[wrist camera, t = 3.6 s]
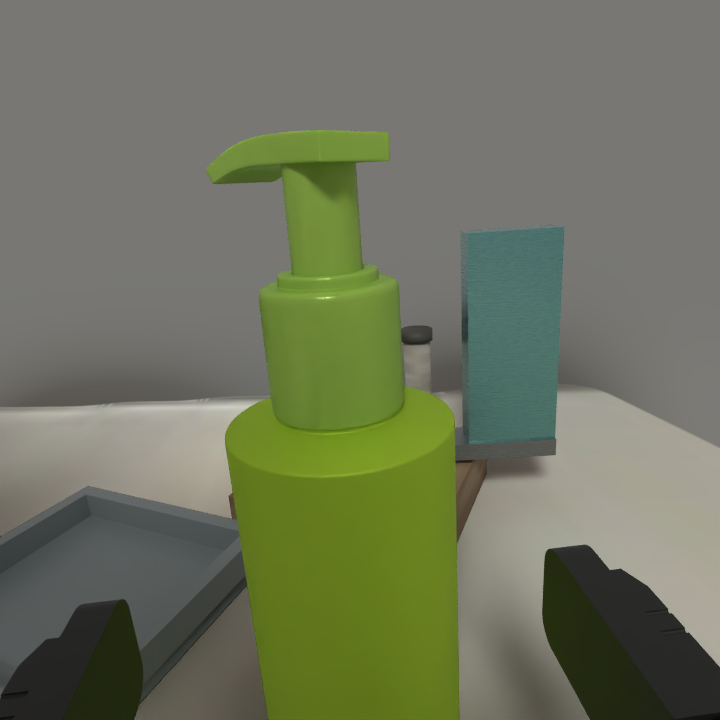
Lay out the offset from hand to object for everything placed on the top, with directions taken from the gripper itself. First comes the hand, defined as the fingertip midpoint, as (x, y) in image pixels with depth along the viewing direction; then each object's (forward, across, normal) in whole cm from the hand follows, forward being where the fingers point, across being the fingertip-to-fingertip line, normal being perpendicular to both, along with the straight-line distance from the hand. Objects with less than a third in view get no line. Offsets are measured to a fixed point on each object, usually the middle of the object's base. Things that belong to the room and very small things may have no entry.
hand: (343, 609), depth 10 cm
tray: (+14, +13, +11) cm, 22 cm away
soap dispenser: (+5, 0, +11) cm, 12 cm away
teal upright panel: (+20, -7, +8) cm, 23 cm away
